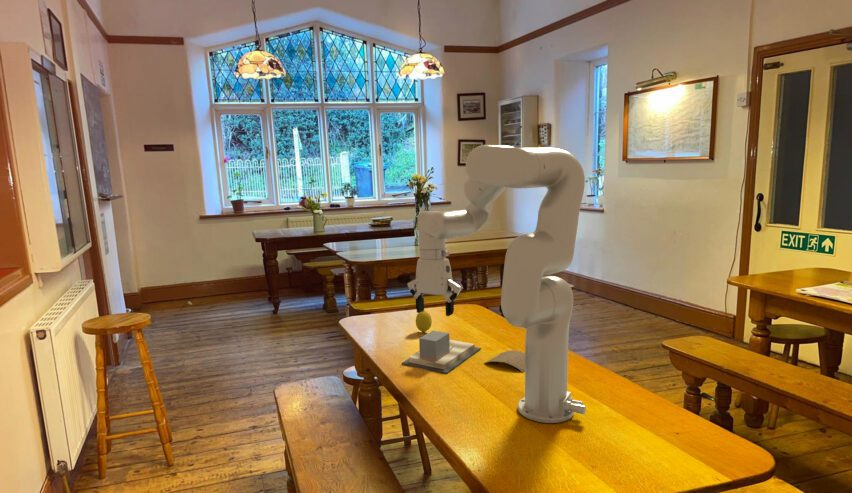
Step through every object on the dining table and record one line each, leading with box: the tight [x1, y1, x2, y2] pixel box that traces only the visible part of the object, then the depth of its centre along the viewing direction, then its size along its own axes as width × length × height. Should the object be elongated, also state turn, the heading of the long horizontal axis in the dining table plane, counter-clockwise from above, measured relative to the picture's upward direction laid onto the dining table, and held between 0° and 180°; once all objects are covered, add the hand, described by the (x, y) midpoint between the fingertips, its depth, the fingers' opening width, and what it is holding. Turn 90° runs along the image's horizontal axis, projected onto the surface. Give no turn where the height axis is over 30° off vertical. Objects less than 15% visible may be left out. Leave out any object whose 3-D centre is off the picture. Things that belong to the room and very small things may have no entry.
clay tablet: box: [484, 350, 525, 373], centre depth 149 cm, size 14×10×3 cm
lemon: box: [415, 309, 433, 334], centre depth 178 cm, size 6×6×8 cm
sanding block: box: [418, 330, 451, 361], centre depth 150 cm, size 8×6×6 cm
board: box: [401, 339, 482, 375], centre depth 155 cm, size 22×15×2 cm
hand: (434, 313), depth 148 cm, fingers open, 9 cm apart
